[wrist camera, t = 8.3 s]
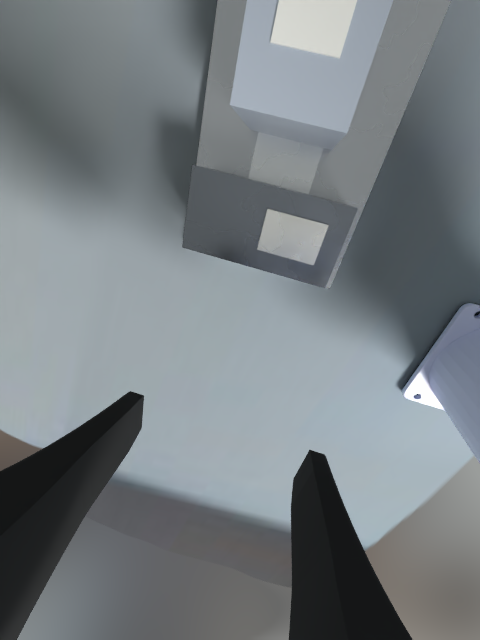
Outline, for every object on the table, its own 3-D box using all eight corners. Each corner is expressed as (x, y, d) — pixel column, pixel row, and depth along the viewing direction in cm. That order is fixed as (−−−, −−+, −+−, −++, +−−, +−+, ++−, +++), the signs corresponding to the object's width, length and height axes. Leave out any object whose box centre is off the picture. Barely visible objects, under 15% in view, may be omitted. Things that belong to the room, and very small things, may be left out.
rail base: (595, -352, 8) (839, -794, 4) (328, 285, 18) (336, 310, 14) (274, -390, 9) (257, -806, 5) (188, 246, 19) (162, 260, 15)
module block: (398, -49, 11) (469, -214, 6) (332, 150, 14) (348, 133, 10) (290, -70, 11) (285, -242, 7) (250, 129, 14) (228, 104, 10)
